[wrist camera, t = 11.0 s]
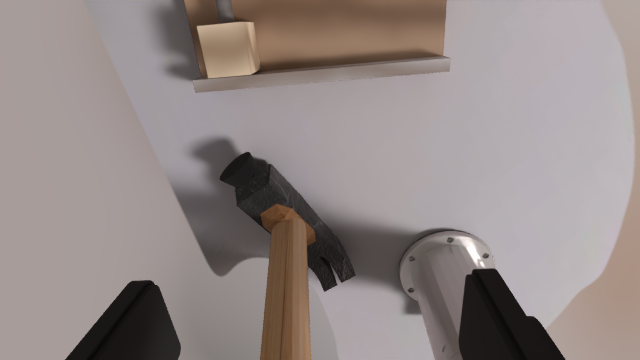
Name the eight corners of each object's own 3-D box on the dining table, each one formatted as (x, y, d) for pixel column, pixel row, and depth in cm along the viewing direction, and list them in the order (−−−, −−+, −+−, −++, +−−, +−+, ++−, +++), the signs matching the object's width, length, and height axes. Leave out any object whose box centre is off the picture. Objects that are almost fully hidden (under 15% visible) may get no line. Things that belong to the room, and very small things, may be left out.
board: (437, 66, 35) (449, 71, 31) (209, 85, 37) (195, 92, 34) (445, -72, 30) (460, -86, 26) (182, -40, 32) (161, -49, 29)
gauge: (260, 68, 34) (250, 74, 30) (223, 72, 35) (208, 78, 31) (244, -37, 31) (230, -46, 27) (202, -32, 31) (181, -41, 27)
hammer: (349, 242, 48) (407, 548, 23) (321, 258, 49) (347, 562, 24) (253, 144, 38) (174, 486, 13) (222, 168, 40) (99, 515, 15)
